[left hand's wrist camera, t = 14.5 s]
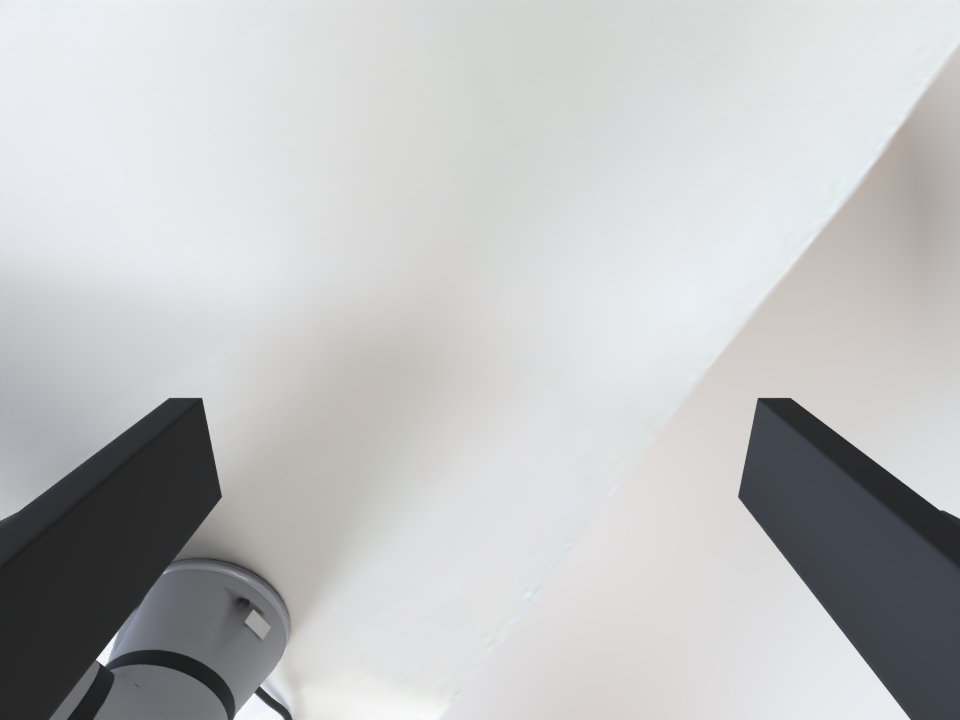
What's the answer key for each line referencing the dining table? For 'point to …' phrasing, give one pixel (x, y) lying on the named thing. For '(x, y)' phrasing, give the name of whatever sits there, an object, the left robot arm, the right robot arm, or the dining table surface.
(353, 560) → the dining table surface
